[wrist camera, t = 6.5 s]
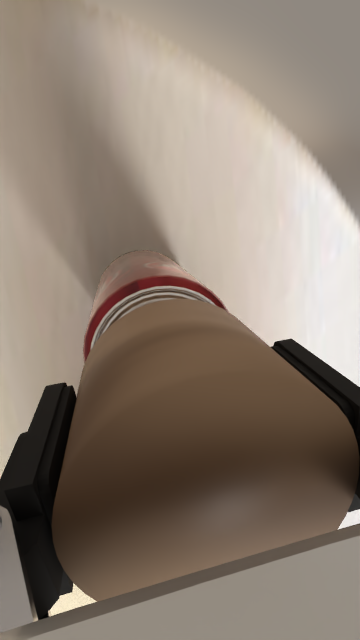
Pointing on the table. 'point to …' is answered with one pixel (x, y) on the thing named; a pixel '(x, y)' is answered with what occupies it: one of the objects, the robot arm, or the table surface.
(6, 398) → the table surface
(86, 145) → the table surface
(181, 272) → the soda can
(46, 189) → the table surface
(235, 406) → the tan short cylinder
